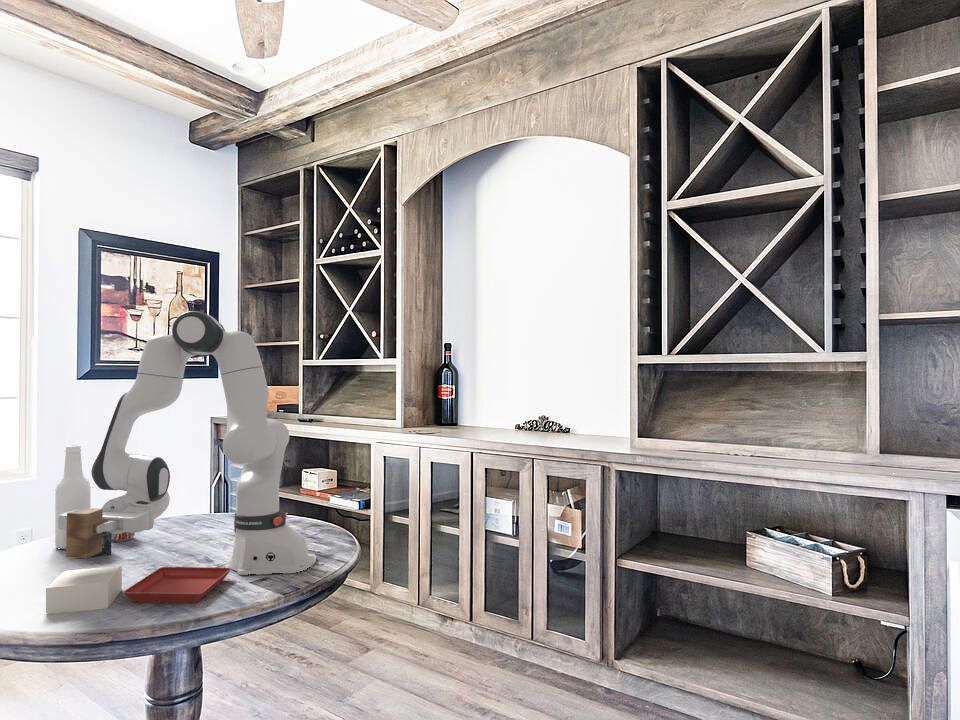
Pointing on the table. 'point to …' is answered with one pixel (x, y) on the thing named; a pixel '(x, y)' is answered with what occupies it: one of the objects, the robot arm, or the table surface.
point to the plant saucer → (177, 584)
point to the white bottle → (70, 491)
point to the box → (105, 544)
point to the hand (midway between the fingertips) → (82, 529)
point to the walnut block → (83, 533)
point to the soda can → (122, 536)
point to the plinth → (84, 589)
